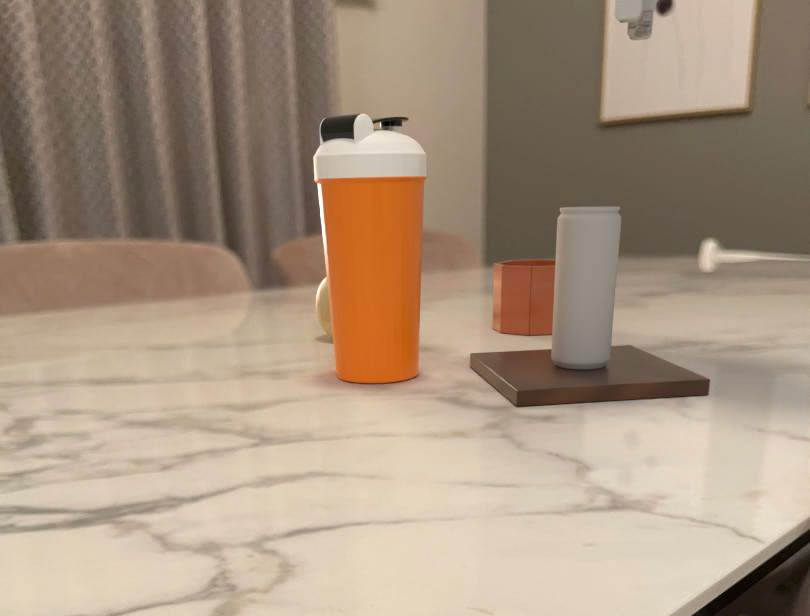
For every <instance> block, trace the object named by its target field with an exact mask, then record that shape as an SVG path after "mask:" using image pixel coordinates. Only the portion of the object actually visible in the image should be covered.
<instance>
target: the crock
mask: <svg viewBox="0 0 810 616" xmlns="http://www.w3.org/2000/svg"><path fill="white" fill-rule="evenodd" d="M555 263H556V259H549V258H548V259H547V258H533V259H508V260H501V261H495V262H493V284H492V285H493V286H492V287H493V292H492V329H493V330H495V331H497V332H498V333H500V334H507V335H508V334H509V335H519V336H546V335H547V336H548V335H552V327H553V306H554V284H555Z"/></svg>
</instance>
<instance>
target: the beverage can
mask: <svg viewBox="0 0 810 616" xmlns="http://www.w3.org/2000/svg"><path fill="white" fill-rule="evenodd" d="M620 210H621V206H609V205H608V206H607V205H606V206H605V205H604V206H600V205H599V206H567V207H566V206H564V207H559V212H560V214H559V215H558V217H557V223H556V245H555V260H556V263H555V284H554V306H553V327H552V334H551V348H550V349H551V359H552V360H553V362H554V363H555V365H557V366H558V367H561V368H566V369H576V370H589V369H598V368H602V367H604V366H606V365H607V363H608V361H609V360H610V354H611V346H612V339H613V325H614V311H615V298H616V296H615V295H616V287H617V275H618V274H617V273H618V265H619V254H620V253H619V252H620V242H621V230H622V229H621V228H622V216H621V214H620V213H619V212H620Z"/></svg>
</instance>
